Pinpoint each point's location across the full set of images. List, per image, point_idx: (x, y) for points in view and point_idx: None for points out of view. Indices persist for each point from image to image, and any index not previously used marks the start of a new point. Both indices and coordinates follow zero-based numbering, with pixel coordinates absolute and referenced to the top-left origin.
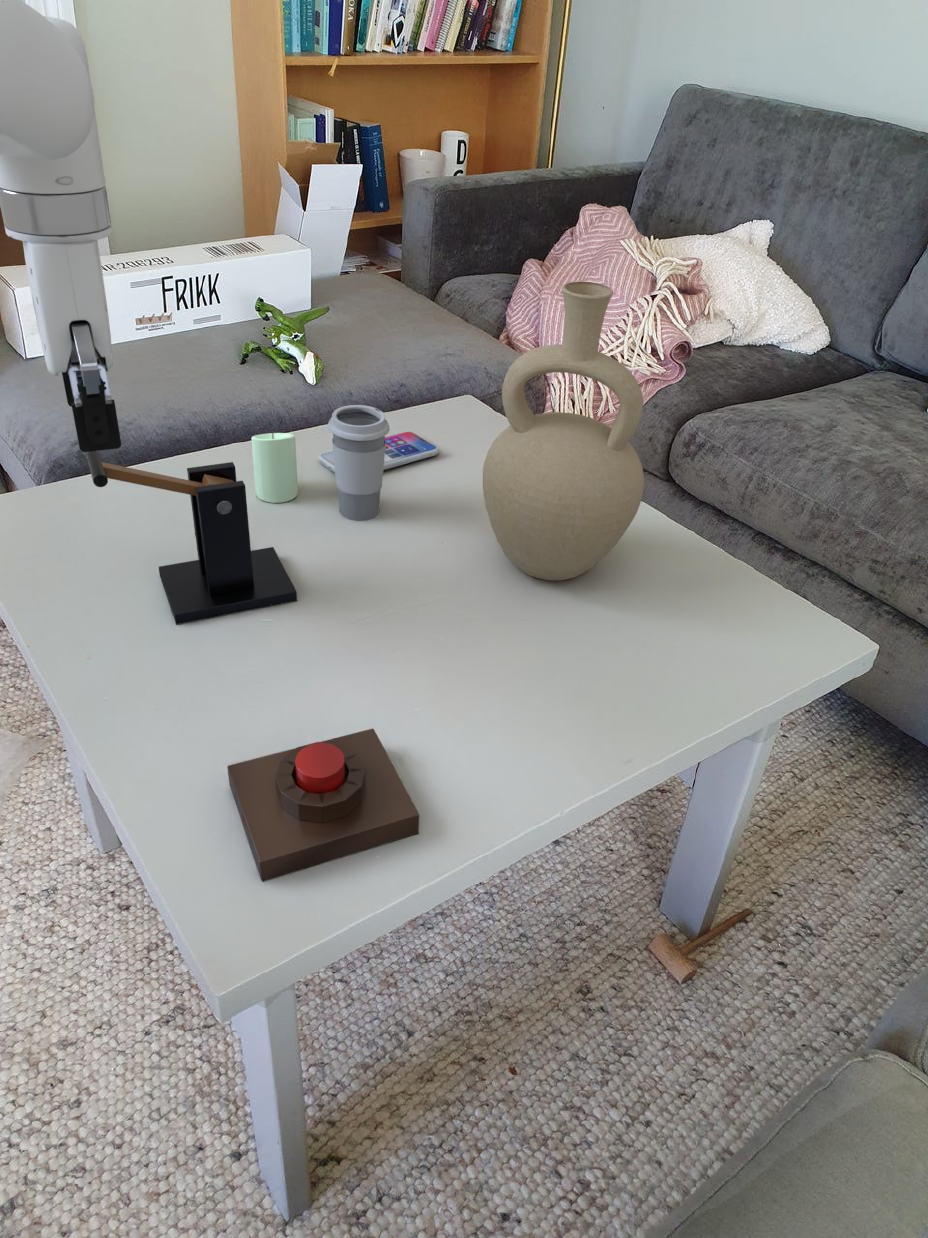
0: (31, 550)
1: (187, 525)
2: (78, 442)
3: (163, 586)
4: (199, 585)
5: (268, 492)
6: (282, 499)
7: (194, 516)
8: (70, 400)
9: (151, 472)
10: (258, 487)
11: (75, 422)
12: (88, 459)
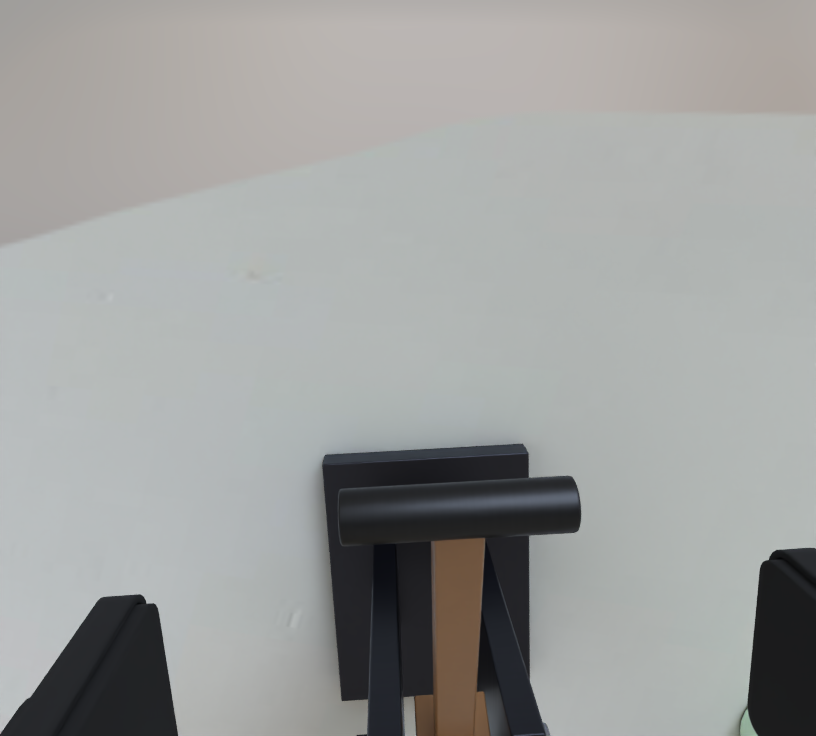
0: (743, 165)
1: (721, 523)
2: (124, 611)
3: (473, 447)
4: None
5: None
6: (744, 733)
7: (486, 630)
8: (781, 581)
9: (474, 655)
10: None
11: (17, 724)
12: (525, 490)
